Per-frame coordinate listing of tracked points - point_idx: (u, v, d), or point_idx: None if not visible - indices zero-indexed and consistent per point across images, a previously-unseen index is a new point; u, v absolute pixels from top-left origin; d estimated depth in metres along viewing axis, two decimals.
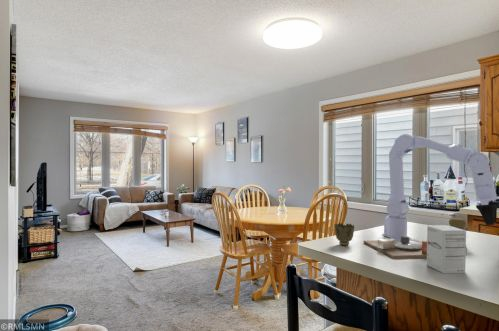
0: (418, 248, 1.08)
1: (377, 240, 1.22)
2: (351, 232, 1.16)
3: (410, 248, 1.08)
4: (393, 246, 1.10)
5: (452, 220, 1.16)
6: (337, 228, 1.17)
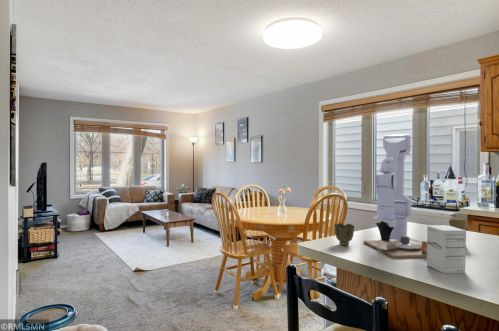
0: (419, 248, 1.09)
1: (377, 240, 1.22)
2: (351, 232, 1.16)
3: (412, 248, 1.08)
4: (395, 247, 1.09)
5: (452, 220, 1.16)
6: (337, 228, 1.17)
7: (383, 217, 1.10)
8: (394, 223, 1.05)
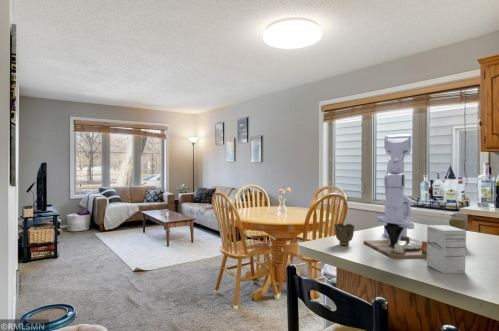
0: (421, 246, 1.11)
1: (377, 240, 1.22)
2: (351, 232, 1.16)
3: (419, 248, 1.08)
4: (405, 248, 1.07)
5: (452, 220, 1.16)
6: (337, 228, 1.17)
7: (396, 219, 1.06)
8: (413, 225, 1.02)
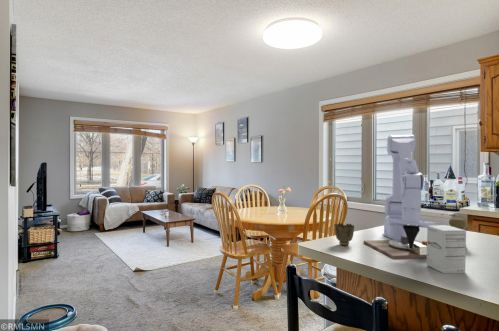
0: None
1: (377, 240, 1.22)
2: (351, 232, 1.16)
3: None
4: None
5: (452, 220, 1.16)
6: (337, 228, 1.17)
7: (419, 220, 1.03)
8: None
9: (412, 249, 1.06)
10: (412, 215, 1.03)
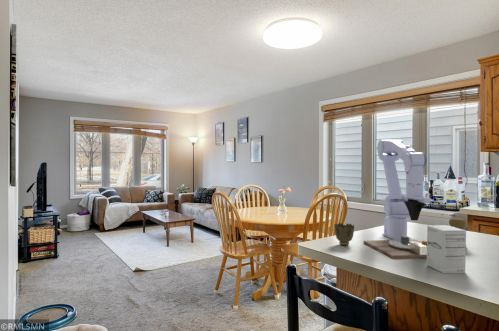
0: None
1: (377, 240, 1.22)
2: (351, 232, 1.16)
3: None
4: None
5: (452, 220, 1.16)
6: (337, 228, 1.17)
7: (415, 195, 1.13)
8: (429, 199, 1.09)
9: (412, 249, 1.06)
10: (407, 189, 1.15)
